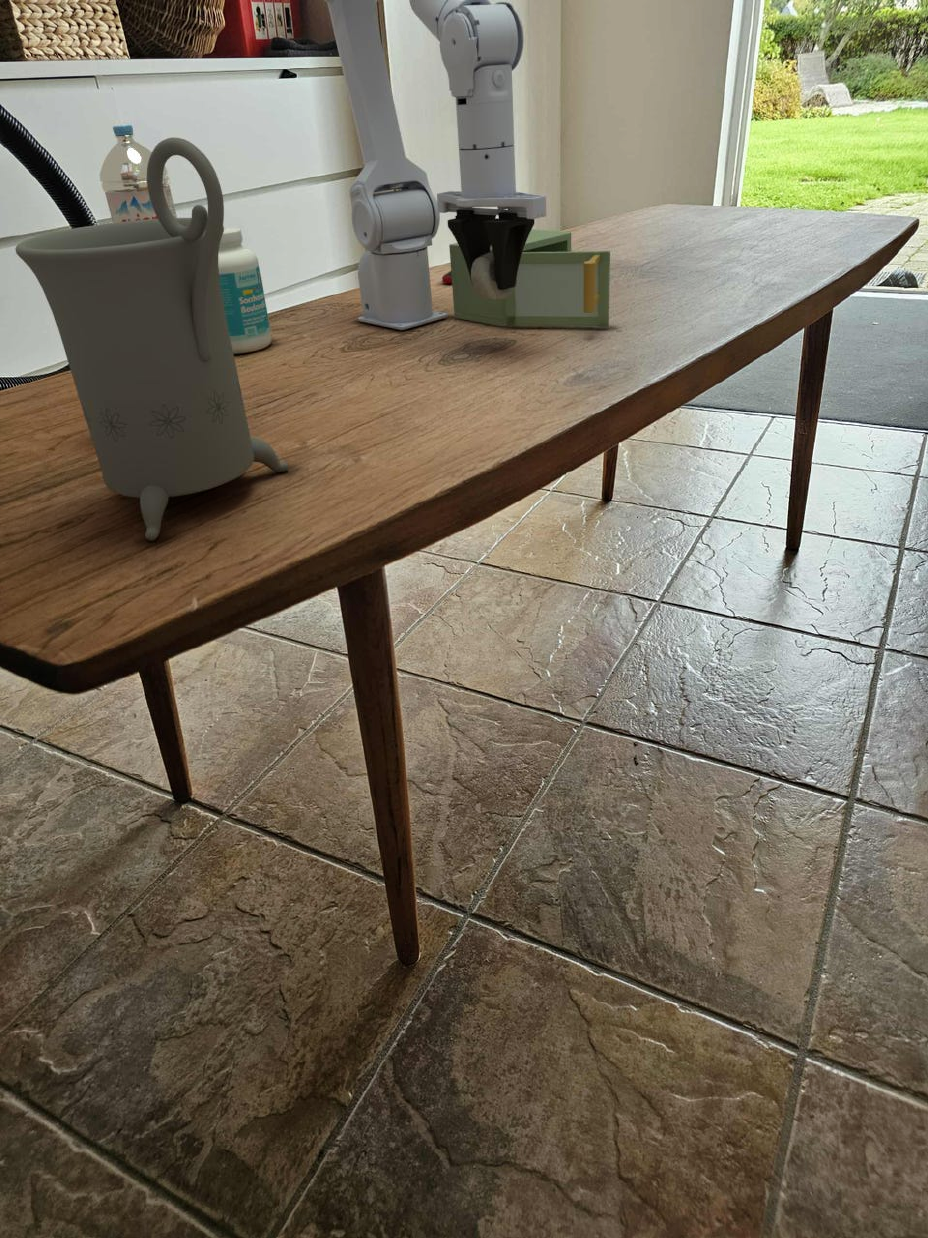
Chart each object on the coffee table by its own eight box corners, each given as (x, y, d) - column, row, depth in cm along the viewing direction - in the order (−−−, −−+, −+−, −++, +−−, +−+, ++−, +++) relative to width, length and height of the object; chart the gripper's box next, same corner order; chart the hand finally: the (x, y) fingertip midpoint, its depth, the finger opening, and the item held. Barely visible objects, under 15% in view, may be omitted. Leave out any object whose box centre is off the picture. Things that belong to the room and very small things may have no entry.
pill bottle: (259, 355, 105) (235, 234, 97) (203, 356, 106) (175, 237, 99) (282, 339, 111) (261, 224, 104) (228, 339, 112) (205, 226, 105)
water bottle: (223, 363, 103) (170, 120, 89) (190, 381, 97) (128, 125, 84) (174, 362, 105) (116, 124, 92) (139, 379, 99) (72, 130, 86)
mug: (44, 512, 69) (-84, 156, 55) (185, 448, 79) (106, 134, 66) (209, 561, 59) (104, 148, 46) (345, 481, 70) (291, 124, 56)
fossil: (493, 306, 94) (491, 257, 91) (466, 305, 95) (463, 256, 93) (520, 293, 98) (518, 246, 96) (493, 292, 100) (491, 245, 97)
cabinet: (503, 326, 108) (499, 249, 103) (454, 317, 114) (449, 244, 109) (571, 305, 115) (571, 232, 111) (522, 297, 121) (520, 228, 116)
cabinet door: (495, 336, 104) (491, 261, 99) (507, 324, 108) (504, 252, 103) (600, 337, 100) (601, 259, 95) (608, 325, 104) (610, 250, 100)
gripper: (411, 151, 91) (423, 286, 99) (509, 151, 82) (515, 300, 89) (460, 144, 95) (468, 274, 102) (559, 143, 86) (560, 287, 93)
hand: (493, 286), depth 96 cm, fingers closed on fossil, 3 cm apart
